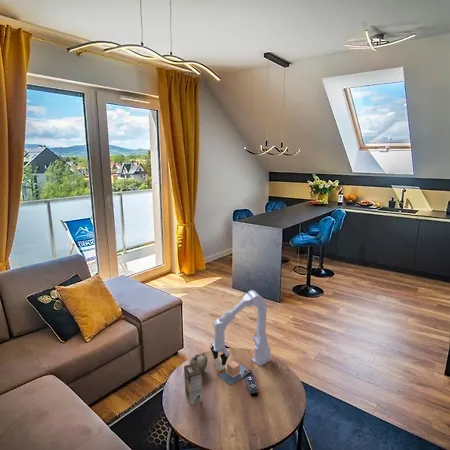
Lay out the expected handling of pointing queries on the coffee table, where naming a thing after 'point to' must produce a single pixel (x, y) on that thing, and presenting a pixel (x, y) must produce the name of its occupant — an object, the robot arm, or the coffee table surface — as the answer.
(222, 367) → the cream block
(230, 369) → the terracotta block
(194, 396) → the coffee box
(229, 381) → the blueprint board
